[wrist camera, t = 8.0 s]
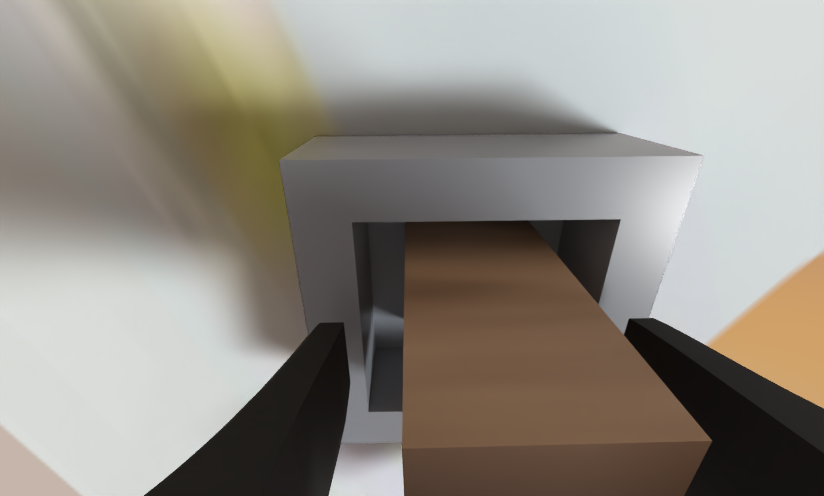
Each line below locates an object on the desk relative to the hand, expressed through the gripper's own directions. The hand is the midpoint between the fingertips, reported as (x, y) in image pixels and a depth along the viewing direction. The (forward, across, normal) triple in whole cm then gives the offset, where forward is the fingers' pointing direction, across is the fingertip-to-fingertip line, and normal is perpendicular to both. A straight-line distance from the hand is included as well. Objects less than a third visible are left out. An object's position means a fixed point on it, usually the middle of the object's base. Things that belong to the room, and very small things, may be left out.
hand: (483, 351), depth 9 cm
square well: (+4, 0, 0) cm, 4 cm away
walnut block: (+4, 0, 0) cm, 4 cm away
